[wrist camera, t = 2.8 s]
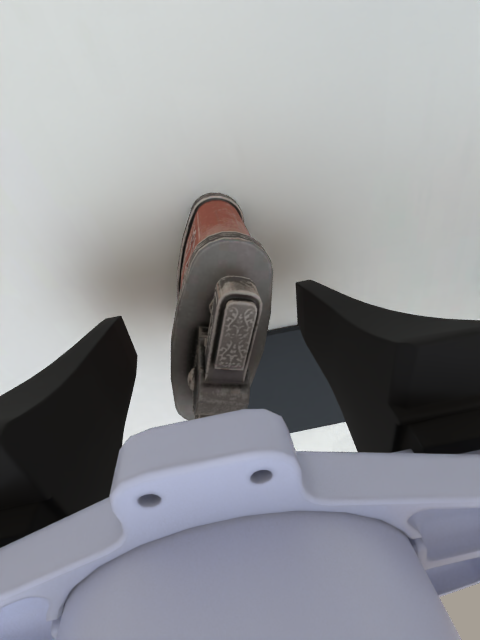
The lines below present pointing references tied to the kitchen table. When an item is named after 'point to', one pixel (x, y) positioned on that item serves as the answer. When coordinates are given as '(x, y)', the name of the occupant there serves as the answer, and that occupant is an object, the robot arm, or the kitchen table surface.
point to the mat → (293, 383)
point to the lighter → (218, 310)
